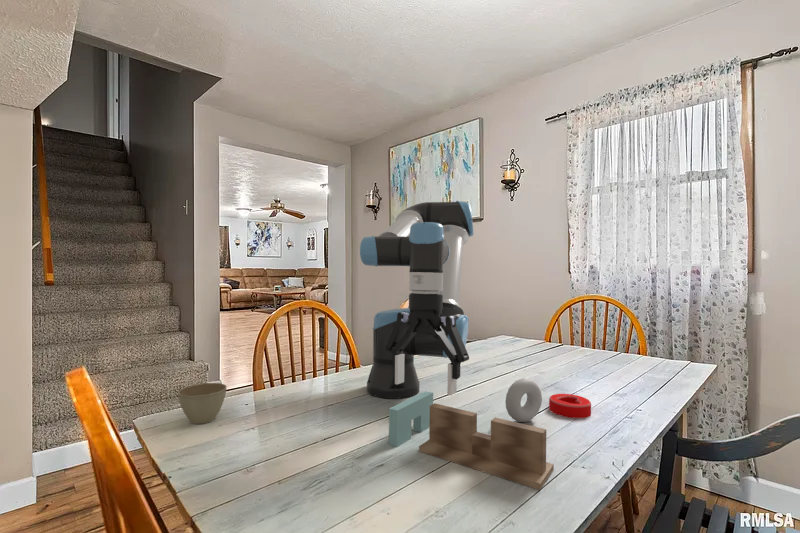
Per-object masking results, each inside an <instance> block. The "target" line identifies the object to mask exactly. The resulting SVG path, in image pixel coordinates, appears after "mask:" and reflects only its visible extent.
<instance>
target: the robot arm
mask: <svg viewBox="0 0 800 533" xmlns="http://www.w3.org/2000/svg"><path fill="white" fill-rule="evenodd" d="M473 236H474V223H473V214H472V206H471V204H470V203H469V202H468V201H459V200H456V201H431V202H430V201H427V202H426V201H425V202H420V203H417V204H414V205H411V206H408V207H406V208H405V209H404V210H401V212H399V214H398V215H396V218H395V220H394V222H392V224H391V225H389V226H388V227H387V228H386V229H385V230H384V231H382V233H381V234H379V235H378V236H374V235H371V236H364V237H363V238H362V239H361V242H360V246H359V256H360V260H361V263H362V264H363V265H364V266H372V267H409V270H408V271H409V274H408V276H409V281H408V284H409V286H408V289H409V291H411V292H409V294H408V307H404V308H394V309H388V310H382V311H379V312H377V313H376V314H374V317H373V327H372V331H373V334H372V335H373V336H372V338H373V340H372V341H373V342H372V344H373V346H372V348H373V350H372V358H373V360H372V366H371V369H370V372H369V375H368V378H367V381H366V392H367V393H368V394H369V395H372V396H374V397H378V398H384V399H403V398H409V397H414V396H416V395H418V394H419V393H420V380H419V378H418V377H419V376H418V373H417V370H416V367H415V364H414V362H415V361H414V360H415V356H423V357H436V358H444V359H448V360H449V361H450V362H449V363H447V387H446V388H447V390H446V391H447V392H446V393H447V396H451V397H452V395H455V394H456V393H457V388H458V387H457V385H458V384H457V382H458V381H457V380H458V379H461V364H462V363H464V362H467V361H469V360H470V356H469V352H468V351H467V348H466V346H467V340H468V335H469V324H470V323H469V321H470V320H469V317H468V315H465V310H464V309H463V307H461V305H460V297H461V283H462V266H463V252H464V245H465V244H467V242H468V241H469V238H470V237H473Z"/></svg>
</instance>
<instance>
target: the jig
mask: <svg viewBox="0 0 800 533" xmlns="http://www.w3.org/2000/svg"><path fill="white" fill-rule="evenodd" d="M428 428H429V431H428V432H429V435H428V436H429V438H428V440H426V441H424V442H423V443H421V444H420V445H418V452H420V453H423V454H426V455H429V456H432V457H436V458H438V459H442V460H445V461H449V462H451V463H454V464H458V465H461V466H463V467H466V468H470V469H473V470H477V471H480V472H482V473H483V472H484V473H486V474H489V475H492V476H495V477H498V478H501V479H504V480H508V481H511V482H514V483H518V484H521V485H523V486H527V487H530V488H533V489H536V490H539V491H541V490H542V489H543V487H544V485H545V484H546V483H547V481H548V479H549V478H550V477H551V475H552V474H553V472H554V470H555V467H554V463H551V462H547V429H545V428H543V427H537V426H535V425H534V426H533V425H530V424H525V423H522V422H518V421H512V420H508V419H504V418H499V417H496V416H495V417H494V418H492V419H491V420H490V434H487V433H483V432H479V431H478V413H477V412H473V411H470V410H465V409H461V408H457V407H452V406H448V405H443V404H439V403H434V402H433V405H431V406H430V426H429V427H428Z"/></svg>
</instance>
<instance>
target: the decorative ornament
mask: <svg viewBox="0 0 800 533" xmlns="http://www.w3.org/2000/svg"><path fill="white" fill-rule="evenodd" d="M548 404H549V405H548V409H549V411H550V412H552V413H553V414H555V415H558V416H562V417H565V418H570V419H571V418H573V419H586V418H589V417H590V416H592V403H591V401H590V399H588V398H586V397H585V396H582V395H581V396H580V395H576V394H572V393H556V394H552V395H551V396H550V397H549V399H548Z"/></svg>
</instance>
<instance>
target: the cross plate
mask: <svg viewBox="0 0 800 533" xmlns="http://www.w3.org/2000/svg"><path fill="white" fill-rule="evenodd" d="M433 404H434V392H431V391H427V390H425V391H423V392H421V393H418V394H416V395H413V396H411V398H408V399H406V400H404V401H402V402H400V403H398V404H396V405H394V406H392V407H389V408H388V414H389V415H388V444H389V446H392V447H395V448H398V447H400V446H401V445H403V444H405V443H406V442H407V441H409V440H411V439H412V430H413V431H416V432H420V433H422V432H424V431H425V430H427V429H428V428H429V426H430V406H431V405H433ZM412 425H413V426H412Z"/></svg>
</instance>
